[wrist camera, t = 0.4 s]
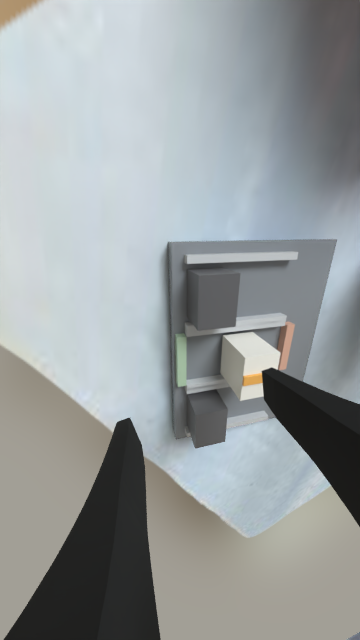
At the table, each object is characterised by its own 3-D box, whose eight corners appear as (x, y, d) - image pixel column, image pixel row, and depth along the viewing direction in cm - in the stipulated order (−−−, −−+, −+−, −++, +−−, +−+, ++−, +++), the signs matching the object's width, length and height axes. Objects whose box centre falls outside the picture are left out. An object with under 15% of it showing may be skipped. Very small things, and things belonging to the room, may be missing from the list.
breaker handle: (252, 331, 20) (282, 354, 16) (248, 368, 22) (274, 396, 18) (222, 335, 19) (246, 359, 16) (220, 372, 21) (241, 402, 17)
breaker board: (325, 239, 20) (372, 240, 16) (288, 406, 27) (314, 433, 24) (168, 241, 17) (180, 243, 13) (173, 430, 24) (182, 466, 20)
